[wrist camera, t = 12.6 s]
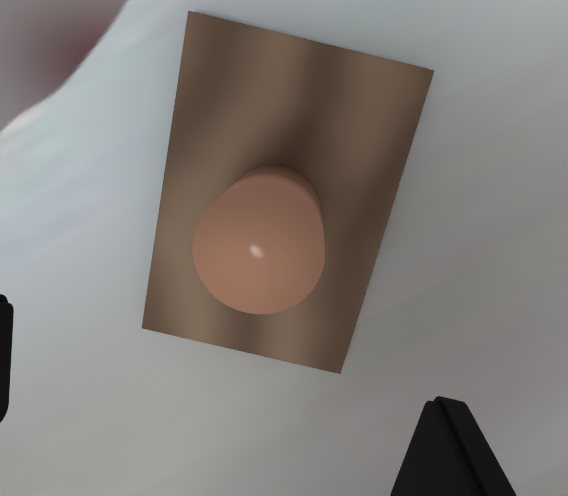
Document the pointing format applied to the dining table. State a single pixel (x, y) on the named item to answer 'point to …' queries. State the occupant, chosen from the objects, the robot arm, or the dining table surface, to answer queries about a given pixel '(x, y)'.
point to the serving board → (290, 153)
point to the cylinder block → (262, 241)
